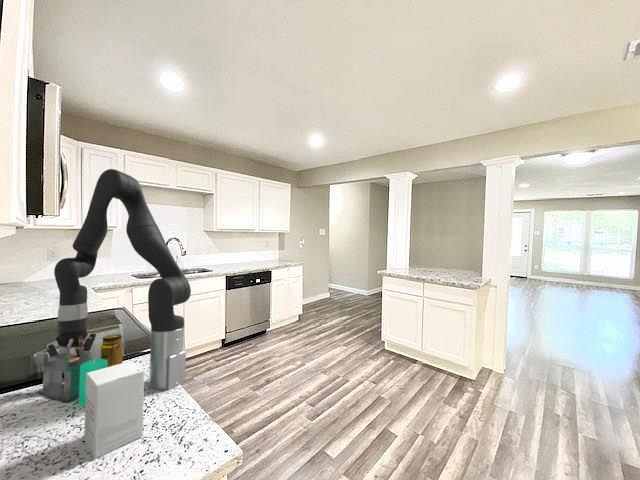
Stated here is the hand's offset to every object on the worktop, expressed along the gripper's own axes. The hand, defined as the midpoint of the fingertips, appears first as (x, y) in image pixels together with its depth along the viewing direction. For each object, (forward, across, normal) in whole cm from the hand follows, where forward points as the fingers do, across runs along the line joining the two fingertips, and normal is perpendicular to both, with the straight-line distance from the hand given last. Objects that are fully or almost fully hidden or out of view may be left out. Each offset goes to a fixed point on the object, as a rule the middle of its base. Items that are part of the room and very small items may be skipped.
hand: (71, 368), depth 93 cm
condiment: (+2, +7, -10) cm, 13 cm away
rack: (+2, -8, -12) cm, 15 cm away
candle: (+2, -8, -24) cm, 26 cm away
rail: (+1, 0, +1) cm, 1 cm away
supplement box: (+2, -16, -46) cm, 48 cm away
